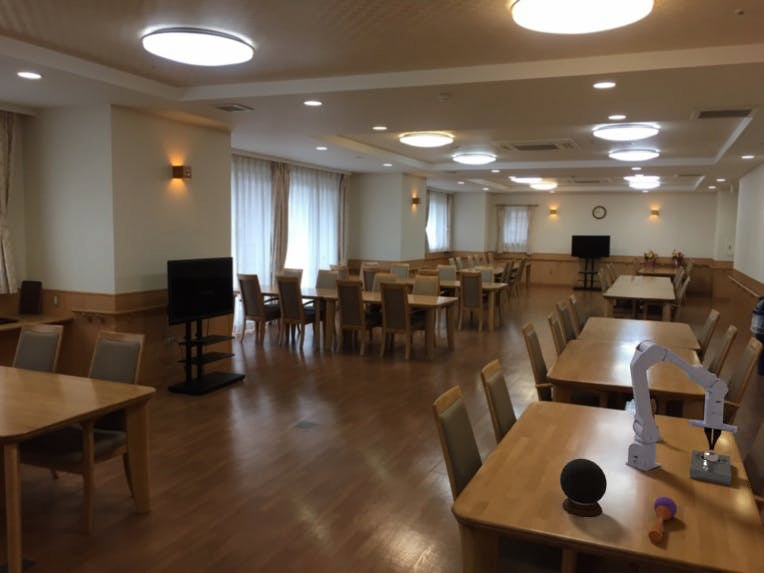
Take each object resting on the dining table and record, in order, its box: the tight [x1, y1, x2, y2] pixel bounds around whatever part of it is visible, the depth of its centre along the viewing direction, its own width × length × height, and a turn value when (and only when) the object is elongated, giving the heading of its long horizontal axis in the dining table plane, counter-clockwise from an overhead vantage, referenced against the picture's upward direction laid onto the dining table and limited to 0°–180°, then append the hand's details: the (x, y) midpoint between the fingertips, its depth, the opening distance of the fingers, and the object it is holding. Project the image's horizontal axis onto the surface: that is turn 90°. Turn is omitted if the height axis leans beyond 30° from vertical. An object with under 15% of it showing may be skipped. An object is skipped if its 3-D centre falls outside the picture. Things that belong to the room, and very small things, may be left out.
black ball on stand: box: [559, 458, 608, 519], centre depth 177 cm, size 13×13×15 cm
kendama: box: [647, 496, 678, 544], centre depth 167 cm, size 6×6×20 cm
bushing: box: [703, 450, 720, 462], centre depth 210 cm, size 4×4×5 cm
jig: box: [689, 449, 732, 486], centre depth 206 cm, size 20×12×3 cm, turn 151°
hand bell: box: [650, 398, 664, 443], centre depth 238 cm, size 8×8×16 cm
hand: (711, 449), depth 209 cm, fingers closed
